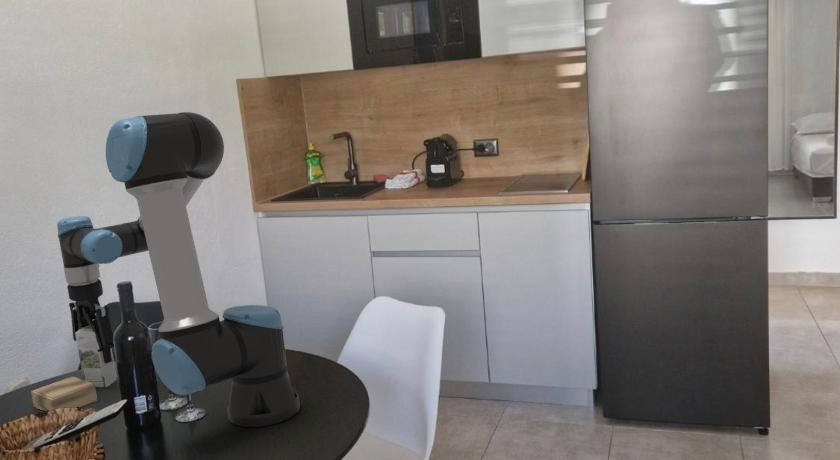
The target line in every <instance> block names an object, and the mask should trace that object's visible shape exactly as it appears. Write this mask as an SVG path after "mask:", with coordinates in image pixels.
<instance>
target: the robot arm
mask: <svg viewBox="0 0 840 460" xmlns="http://www.w3.org/2000/svg"><path fill="white" fill-rule="evenodd" d="M224 154H225V143H224V138H223V135H222V134H221V131H220V129H219V128H218V127H217V125H216V124H215V123H214V122H213V121H212V120H211V119H209V118H208V117H206V116H203V115H202V114H199V113H195V112H191V111H184V112H183V111H181V112H178V113H163V114H150V115H149V114H147V115H138V116H133V117H128V118H127V117H126V118H122V119H119V120H117V121H116V122H114V123H113V124H112V126H111V127H110V128H109V131H108V134H107V137H106V140H105V161H106V165H107V169H108V171H109V173H110V175H111V177H112V179H114V180H115V181H117V182H120V183H124V187H125V192H127V193H128V194H129V195H131V196H133V197H134V198H135V199H136V203H137V206H138V211H139V216H138V219H137V220H134V221H130V222H129V221H128V222H123V223H120V224H114V225H109V226H105V227H99V228H94V225H93V222H92V219H91V218H90V216H85V215H81V216H79V215H77V216H70V217H66V218H62V219H59V221H58V222H57V225H56V226H57V238H58V242H59V245H60V246H59V247H60V252H61V259H62V262H63V270H64V277H65V282H66V284H68V285H67V286H66V289H67V294H68V299H69V300H70V301H72V302H68V307H69V310H70V316H71V317H70V318H71V328H72V339H73V341H74V342H77V341H76V336H75V332H77V331H78V330H79V329H81V328H82V327H85V326H89V325H91V327H92V329H93V332H95V336H96V340H97V343H98V345H99V348H100V349H98V350H97V351H98V354H99V360H100V366H101V372H102V377H105V376H108V375H111V374H113V373H114V368H113V362H112V356H111V350H110V349H111V348H112V349H113V348H115V347H114V344H113V337H114V334H113V329H112V325H111V321H110V317H109V316H110V315H109V308H108V306H101V303H100V300H99V298H100V297H101V296H103V293H104V290H103V284H102V280H101V279H100V277H101V273H100V265H103V264H104V265H106V264H111V263H113V262H115V261H116V260H117V259H119V258H122V257H126V256H131V255H135V254H139V253H144V252H148V254H149V258H150V264H151V267H152V272H153V276H154V279H155V285H156V289H157V292H158V297H159V302H160V306H161V311H162V315H163V321H162V323H161V324H160V326H159V327H158V336H159V338H160V339H158V340H157V341H155V342H154V343H153V345H152V347H151V351H152V352H151V359H152V360H151V361H152V363H153V366H154V368H155V369H154V370H155V372H156V373H157V375H158V377H159V379H160V380H161V382H162V383H163V384H164V386H166V388H167V389H168V390H169V391H171V392H172V393H174V394H177V395H180V396H185V395H189V394H192V393H196V392H202V391H203V390H205V389H207V388H209V387H211V386H215V385H216V384H219V383H221V382H225V381H227V380H228V381H229V380H231V386H230V387H231V388H230V392H229V398H228V403H227V406H226V407H227V408H226V412H227V419H228V421H229V422H230V423H231V424H233V425H235V426H239V427H242V428H258V427H267V426H271V425H275V424H279V423H281V422H284V421H286V420H289V419H291V418H292V417H294V416H295V415H296V414H297V413H298V412H299V410H300V409H301V404H300V403H301V402H300V398H299V394H298V392H297V390H296V387H295V386H294V384H293V381H292V379H291V377H290V375H289V372H288V365H287V355H286V348H285V347H286V346H285V338H284V325H283V321H282V316H281V313H280V312H279V310H278V309H276V308H274V307H272V306H268V305H259V304H254V305H253V304H250V305H249V304H248V305H245V304H244V305H237V306H232V307H228V308H226V309H225V310H224V311H222V320H220V316H219V314H218V312H217V313H216V312H215V311H213V310H211V309H210V308H209V303H208V299H207V293H206V290H205V285H204V280H203V276H202V271H201V269H200V267H201V266H200V262H199V259H198V253H197V250H196V245H195V241H194V237H193V232H192V227H191V224H190V218H189V214H188V210H187V206H188V204H189V203H190V201H192V198H193V197H194V195H195V194H196V193H197V191H198V190H199V188H200V187H201V185H202V184H203V182H204V181H205V180H208V179H210V178H211V177H213V176H214V175H215V173H216V172H217V170H218V168H219V167H220V165H221V163H222V162H223V158H224Z"/></svg>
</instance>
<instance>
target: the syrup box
mask: <svg viewBox="0 0 840 460" xmlns="http://www.w3.org/2000/svg"><path fill="white" fill-rule="evenodd" d="M75 336H76V341H75V342H76V346H77V352H78V357H79V363H80V368H81V373H82V380H85V381H87V382H90V383H93V384H95V388H96V389H99V388H101V389H104V388H108V387H109V386H111V385H112V384H113V383H114V382H116V381H117V380H118V376H117V372H116V365H115V359H114V355H113V347H112V348H111V349H110V350H111V356H112V362H113V368H114V373H113V374H111V375H108V376H105V377H102V372H101V366H100V360H99V354H98V351H97V350H98V349H100V348H99V345H98V343H97V340H96V336H95V332H93V329H92V327H91V325H89V326H85V327H82V328H81V329H79V330H78V331H77V332H75Z"/></svg>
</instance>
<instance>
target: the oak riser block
mask: <svg viewBox="0 0 840 460" xmlns="http://www.w3.org/2000/svg"><path fill="white" fill-rule="evenodd" d="M30 393H31V394H30V395H31V399H32V405H33V408H34V407H36V408H38V409H40V410H44V411H47V410H54V409H58V408H64V407H79V408H82V407H84V406H88V405H89V404H91V403H94V402H97V401H98V396H97V388H95V384H93V383H90V382H87V381H85V380H83V378H82V379H81V378H78V377H76V376H69V377H66V378H64V379H61V380H59V381H56V382H53V383H51V384H47V385H45V386H40V387H39V388H36V389H34V390H31V391H30ZM36 408H35V409H36ZM38 409H37V410H38ZM40 410H39V411H40Z"/></svg>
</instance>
